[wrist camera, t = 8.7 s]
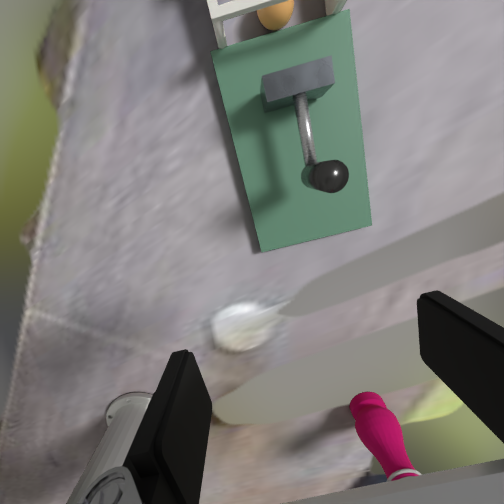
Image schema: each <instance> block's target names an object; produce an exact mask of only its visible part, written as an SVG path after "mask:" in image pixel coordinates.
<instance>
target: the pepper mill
mask: <svg viewBox="0 0 504 504" xmlns="http://www.w3.org/2000/svg"><path fill="white" fill-rule="evenodd" d="M350 410H351V413H352V415H353V417H354V419H355V420H356V422H355V428H356V432H357V434H358V436H359V438H360V439H361V441H362V442H363V444H364V445H365V446H366V447H367V448H368V450H369V451H370V452H371V453H372V454H373V455H374V456H375V457H376V458H377V460H378V461H379V462H380V464H381V466H382V468H383V470H384V472H385V474H386V476H387V479H388V480H387V482H389V481H394V480H399V479H404V478H409V477H414V476H419V475H421V474H420V473H419V472H418V471H416V470H415V469H414V468H413V466H412V464H411V462H410V460H409V458H408V456H407V454H406V451H405V447H404V443H403V436H402V430H401V427H400V424H399V422H398V420H397V418H396V416H395V415H394V414H393V413H392V412H391V411H390V410H388V409H387V408H386V405H385V403H384V402H383V400H382V398H381V397H380V396H379V395H378V394H376V393H373V392H362V393H360V394H358V395H356V396H355V397H354V398H353V399H352V400H351V402H350Z"/></svg>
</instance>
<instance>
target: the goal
mask: <svg viewBox="0 0 504 504" xmlns="http://www.w3.org/2000/svg"><path fill="white" fill-rule="evenodd" d="M285 1H288V0H234V1H231V2H228V3H225V4H222V5H218V3H217V0H207V3H208V7H209V11H210V15H211V19H212V23H213V27H214V31H215V36H216V40H217V44H218V48H219V49H220V48H221V49H223V48H225V47H226V46H227V42H226V36H225V32H224V27H223V21H224V20H227V19H231V18H234V17H237V16H240V15H243V14H247V13H250V12H253V11H256V10H259V9H263V8H266V7H269V6H272V5H275V4H279V3H282V2H285ZM346 1H347V0H325V8H326V16H328V15H331V14H337V13H338V12H341V10H342V8H343V6H344V4H345V3H346Z"/></svg>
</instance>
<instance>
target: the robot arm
mask: <svg viewBox="0 0 504 504" xmlns="http://www.w3.org/2000/svg"><path fill="white" fill-rule="evenodd" d="M417 313H418V327H419V344H420V355H421V358H422V360H423V361H424V362H425V364H426V365H427V366H428V367H429V368H430V369H431V370H432V371H433V372H434V373H435V374H436V375H437V376H438V377H439V378H440V379H441V380H442V381H443V382H444V383H445V384H446V385H447V386H448V387H449V388H450V389H451V390H452V391H453V392H454V393H455V394H456V395H457V396H458V397H459V398H460V399H461V400H462V401H463V402H464V403H465V404H466V405H467V406H468V407H469V408H470V409H471V410H472V412H473V413H474V414H476V416H477V417H478V418H479V419H480V420H481V421H482V422H483V423H484V424H485V425H486V426H487V427H488V428H489V429H490V430H491V431H492V432H493V433H494V434H495V435H496V436H497V437H498V438H499V439H500V440H501V441H502V442H503V443H504V328H503V327H502V326H500V325H498V324H496V323H494V322H493V321H491V320H489V319H487V318H486V317H484V316H482V315H480V314H479V313H477V312H475V311H474V310H472V309H470V308H468V307H466V306H464V305H463V304H461V303H460V302H458V301H456V300H454V299H453V298H451V297H449V296H447V295H446V294H444V293H442V292H440V291H432V292H428V293H423V294H421V296H420V298H419V299H417ZM211 415H212V402H211V399H210V396H209V394H208V391H207V388H206V386H205V383H204V381H203V378H202V375H201V373H200V370H199V367H198V365H197V362H196V360H195V357H194V355H193V353H192V352H188V350H186V349H185V350H181V351H177V352H173V353H172V354H171V356H170V359H169V361H168V363H167V366H166V368H165V371H164V373H163V375H162V378H161V380H160V382H159V385H158V387H157V390H156V392H155V393H154V394H153V395H151V394H148V393H141V392H139V393H129V394H125V395H122V396H120V397H119V398H117V399H116V400H115V401H114V402H113V403H112V404H111V406H110V407H109V409H108V411H107V414H106V422H107V425H108V429H107V430H106V432H105V434H104V436H103V438H102V440H101V441H100V443H99V445H98V447H97V449H96V450H95V452H94V454H93V456H92V458H91V459H90V461H89V463H88V465H87V467H86V468H85V470H84V472H83V474H82V476H81V477H80V479H79V481H78V483H77V485H76V487H75V488H74V490H73V492H72V494H71V496H70V497H69V499H68V501H67V503H66V504H199V499H200V492H201V485H202V478H203V471H204V464H205V457H206V450H207V443H208V436H209V429H210V422H211ZM282 504H504V459H501V460H495V461H490V462H485V463H480V464H475V465H470V466H464V467H460V468H454V469H450V470H444V471H439V472H434V473H429V474H424V475H419V476H414V477H409V478H404V479H399V480H394V481H389V482H384V483H379V484H374V485H369V486H364V487H359V488H355V489H350V490H345V491H340V492H335V493H330V494H325V495H320V496H315V497H311V498H306V499H301V500H296V501H292V502H287V503H282Z"/></svg>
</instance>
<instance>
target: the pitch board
mask: <svg viewBox="0 0 504 504" xmlns="http://www.w3.org/2000/svg"><path fill="white" fill-rule="evenodd" d="M210 52H211V56H212V60H213V64H214V67H215V71H216V75H217V79H218V83H219V87H220V91H221V95H222V99H223V103H224V107H225V111H226V114H227V118H228V122H229V126H230V130H231V134H232V138H233V142H234V146H235V150H236V154H237V157H238V161H239V165H240V169H241V173H242V177H243V181H244V185H245V189H246V193H247V197H248V201H249V204H250V208H251V212H252V216H253V220H254V224H255V228H256V232H257V236H258V240H259V244H260V248H261V251H262V252H265V251H269V250H273V249H277V248H282V247H286V246H290V245H294V244H298V243H302V242H306V241H310V240H314V239H318V238H322V237H326V236H330V235H335V234H339V233H343V232H347V231H351V230H355V229H359V228H363V227H367V226H371V225H372V220H371V210H370V201H369V191H368V182H367V172H366V163H365V153H364V143H363V134H362V124H361V115H360V105H359V96H358V86H357V77H356V67H355V58H354V48H353V38H352V29H351V19H350V10H349V9H348V10H344V11H341V12H338V13H337V14H331V15H328V16H325V17H321V18H318V19H315V20H312V21H308V22H305V23H302V24H298V25H295V26H292V27H289V28H285V29H282V30H279V31H276V32H272V33H269V34H266V35H262V36H259V37H256V38H253V39H249V40H246V41H243V42H239V43H236V44H233V45H230V46H226V47H225V48H223V49H221V48H220V49H217V50H213V51H210ZM331 55H332V62H333V70H334V78H335V84H334V85H333V86H332V87H331V88H330V89H329V90H328V91H327V92H326V93H325V94H324V95H323V96H322V97H320V98H317V99H313V100H310V101H308V107H309V114H310V120H311V126H312V132H313V138H314V144H315V151H316V157H317V162H322V161H328V160H339V161H341V162H343V163H344V164H345V165H346V166H347V168H348V171H349V179H348V182H347V184H346V186H345V187H344V188H343V189H342V190H340V191H338V192H336V193H327V192H323V191H319V190H315V189H311V188H308V187H306V186H305V185H304V184H303V183H302V181H301V173H302V170H303V169H304V167H305V164H304V158H303V152H302V147H301V141H300V136H299V130H298V124H297V119H296V113H295V107H294V105H292V106H288V107H285V108H281V109H278V110H274V111H271V112H267V113H264V108H263V104H262V99H261V94H260V86H261V78H262V76H263V75H266V74H269V73H273V72H276V71H280V70H283V69H286V68H290V67H293V66H297V65H300V64H303V63H307V62H310V61H314V60H317V59H320V58H324V57H327V56H331Z"/></svg>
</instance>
